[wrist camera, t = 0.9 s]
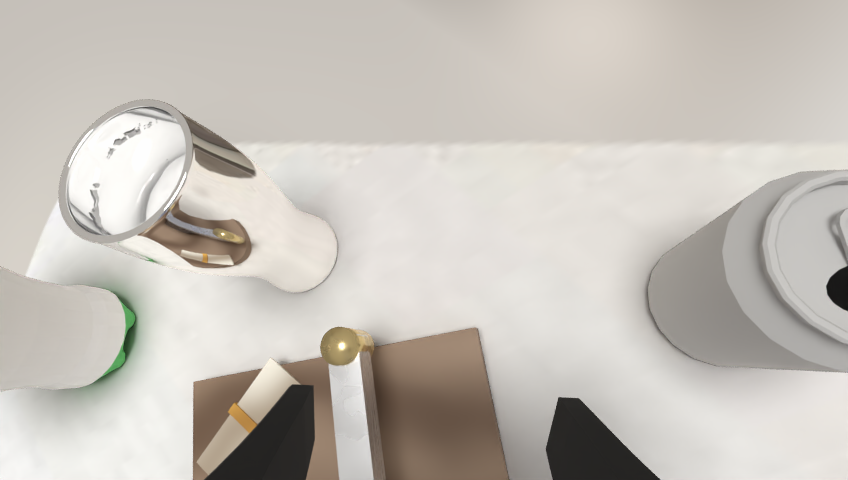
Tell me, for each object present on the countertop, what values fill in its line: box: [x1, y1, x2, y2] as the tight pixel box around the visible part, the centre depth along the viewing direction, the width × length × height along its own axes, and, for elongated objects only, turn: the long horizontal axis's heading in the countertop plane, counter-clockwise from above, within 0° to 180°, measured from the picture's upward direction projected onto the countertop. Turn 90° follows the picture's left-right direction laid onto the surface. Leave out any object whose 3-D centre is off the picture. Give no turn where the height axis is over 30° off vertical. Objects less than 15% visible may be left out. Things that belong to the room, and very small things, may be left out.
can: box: [648, 170, 848, 373], centre depth 19 cm, size 8×8×12 cm
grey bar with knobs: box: [320, 327, 386, 480], centre depth 21 cm, size 16×5×6 cm, turn 10°
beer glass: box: [59, 99, 338, 293], centre depth 24 cm, size 7×7×15 cm
